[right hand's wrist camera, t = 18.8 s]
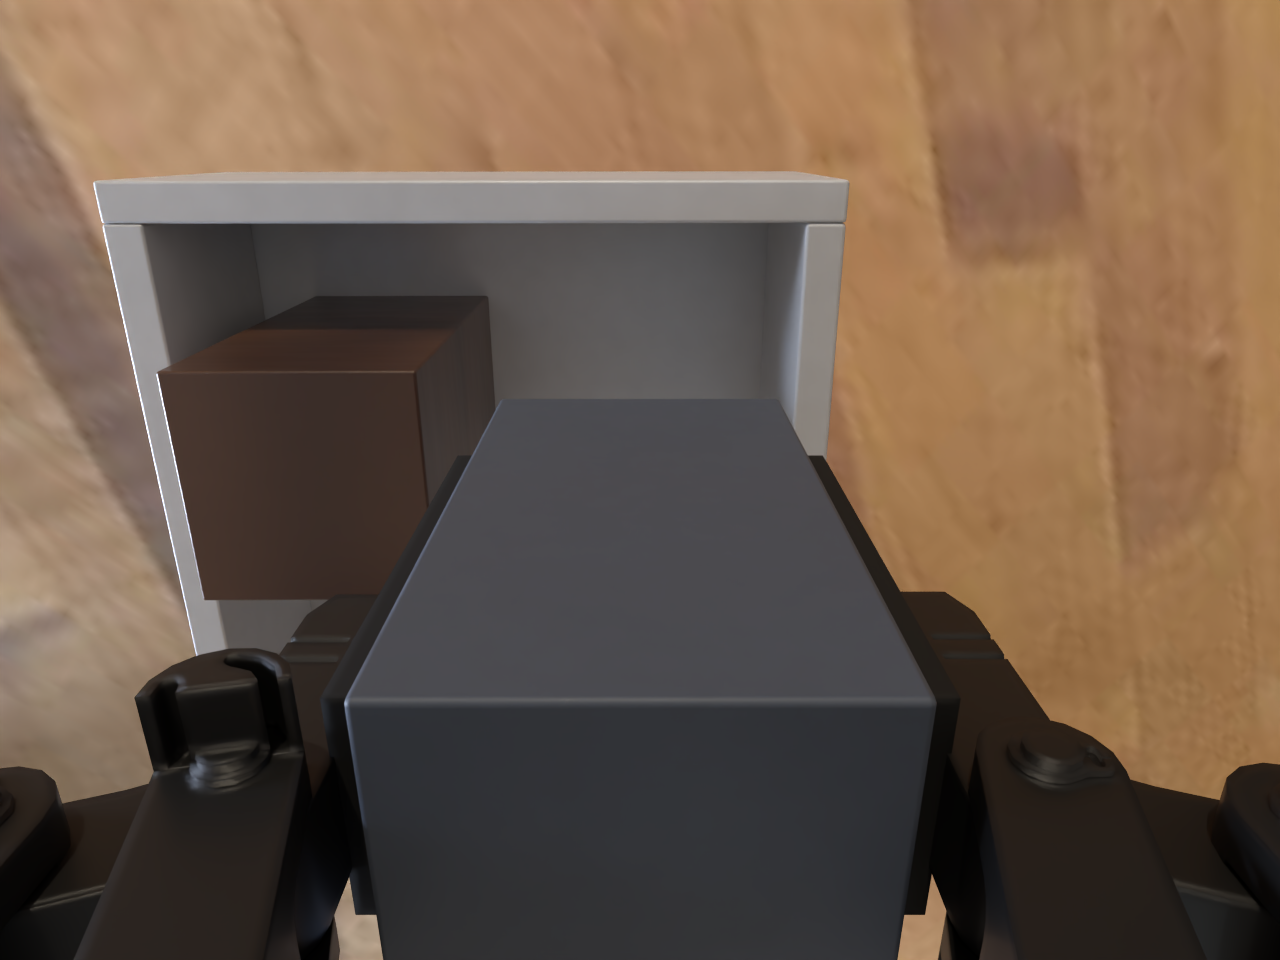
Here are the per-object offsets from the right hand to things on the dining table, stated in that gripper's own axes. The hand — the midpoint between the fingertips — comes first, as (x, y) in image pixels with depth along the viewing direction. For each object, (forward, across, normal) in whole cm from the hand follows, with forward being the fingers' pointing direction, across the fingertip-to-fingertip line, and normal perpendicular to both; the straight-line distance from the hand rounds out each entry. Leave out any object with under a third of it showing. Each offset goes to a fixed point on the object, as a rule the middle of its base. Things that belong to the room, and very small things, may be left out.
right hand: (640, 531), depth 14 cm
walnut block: (+9, -6, 0) cm, 11 cm away
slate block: (0, 0, 0) cm, 0 cm away
